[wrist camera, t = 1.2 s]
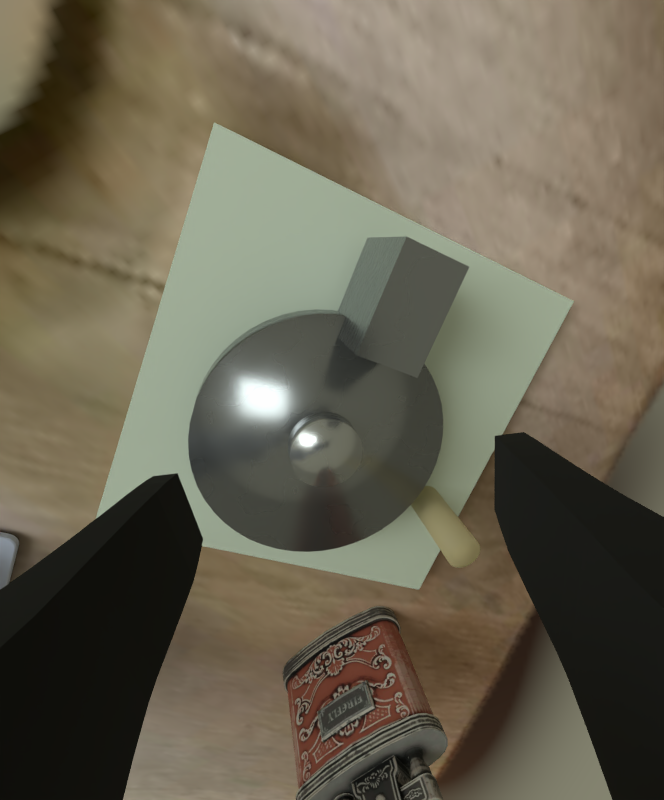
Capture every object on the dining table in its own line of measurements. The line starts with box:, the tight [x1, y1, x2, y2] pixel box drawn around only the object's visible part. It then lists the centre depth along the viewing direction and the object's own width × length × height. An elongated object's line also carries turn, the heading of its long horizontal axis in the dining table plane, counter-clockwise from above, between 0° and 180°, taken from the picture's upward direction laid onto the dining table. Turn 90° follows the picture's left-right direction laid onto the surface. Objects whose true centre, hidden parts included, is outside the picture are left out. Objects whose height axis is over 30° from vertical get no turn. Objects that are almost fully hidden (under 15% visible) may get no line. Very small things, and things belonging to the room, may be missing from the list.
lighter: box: [283, 606, 447, 800], centre depth 23 cm, size 8×3×10 cm, turn 122°
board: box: [96, 123, 574, 590], centre depth 20 cm, size 18×18×6 cm
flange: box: [188, 236, 469, 552], centre depth 18 cm, size 14×11×4 cm
